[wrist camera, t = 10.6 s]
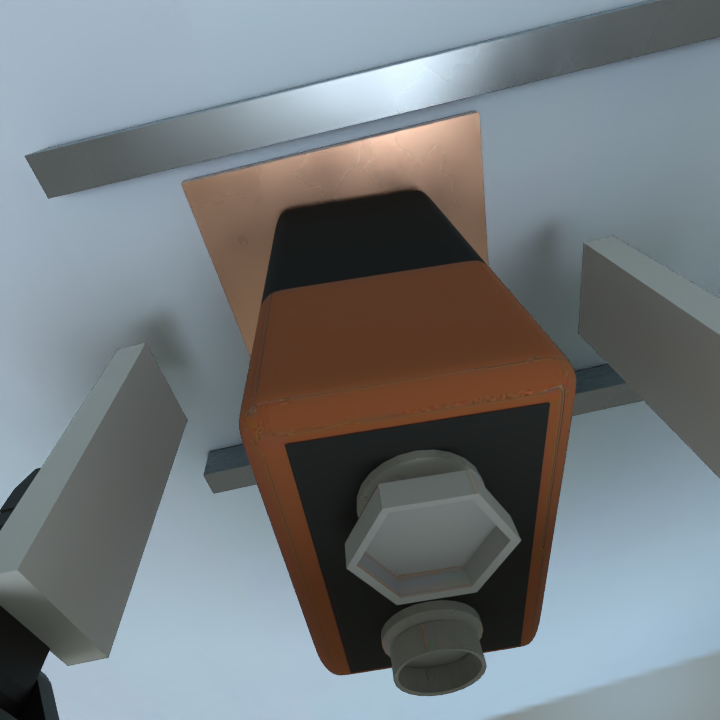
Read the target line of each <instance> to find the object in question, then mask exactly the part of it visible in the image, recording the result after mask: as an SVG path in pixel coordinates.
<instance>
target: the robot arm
mask: <svg viewBox="0 0 720 720" xmlns="http://www.w3.org/2000/svg"><path fill="white" fill-rule="evenodd" d="M578 333H579V334H580V335H581V336H582V338H583V339H584V340H585V341H586V342H587V343H588V344H589V345H590V346H591V347H592V348H593V349H594V350H595V351H596V352H597V353H598V354H599V355H600V356H601V357H602V358H603V359H604V360H605V361H606V362H607V363H608V364H609V365H610V366H611V367H612V368H613V369H614V370H615V371H616V372H617V373H618V374H619V376H620V377H621V378H622V379H623V380H624V381H625V382H626V383H627V384H628V385H629V386H630V387H631V388H632V389H633V390H634V391H635V392H636V393H637V394H638V395H639V396H640V397H641V398H642V399H643V400H644V401H645V402H646V403H647V404H648V405H649V406H650V407H651V408H652V409H653V410H654V411H655V413H656V414H657V415H658V416H659V417H660V418H661V419H662V420H663V421H664V422H665V423H666V424H667V425H668V426H669V427H670V428H671V429H672V430H673V431H674V432H675V433H676V434H677V435H678V436H679V437H680V438H681V439H682V440H683V441H684V442H685V443H686V444H687V445H688V446H689V447H690V448H691V449H692V451H693V452H694V453H695V454H696V455H697V456H698V457H699V458H700V459H701V460H702V461H703V462H704V463H705V464H706V465H707V466H708V467H709V468H710V469H711V470H712V471H713V472H714V473H715V474H716V475H717V476H718V477H719V478H720V299H719V298H718V297H716V296H714V295H713V294H711V293H709V292H708V291H706V290H704V289H703V288H701V287H699V286H697V285H696V284H694V283H692V282H691V281H689V280H687V279H686V278H684V277H682V276H681V275H679V274H677V273H675V272H674V271H672V270H670V269H669V268H667V267H665V266H664V265H662V264H660V263H658V262H657V261H655V260H653V259H652V258H650V257H648V256H647V255H645V254H643V253H642V252H640V251H638V250H636V249H635V248H633V247H631V246H630V245H628V244H626V243H625V242H623V241H621V240H619V239H618V238H616V237H614V236H610V237H605V238H601V239H597V240H592V241H588V242H583V259H582V276H581V293H580V310H579V327H578ZM186 423H187V418H186V416H185V414H184V413H183V411H182V409H181V407H180V405H179V403H178V401H177V400H176V398H175V396H174V394H173V392H172V390H171V388H170V387H169V385H168V383H167V381H166V379H165V377H164V375H163V374H162V372H161V370H160V368H159V366H158V364H157V362H156V360H155V359H154V357H153V355H152V353H151V351H150V349H149V347H148V346H147V344H146V343H142V344H138V345H133V346H129V347H125V348H120V349H118V350H117V352H116V353H115V355H114V356H113V358H112V359H111V361H110V362H109V364H108V366H107V367H106V369H105V370H104V372H103V373H102V375H101V376H100V378H99V379H98V381H97V383H96V384H95V386H94V387H93V389H92V390H91V392H90V393H89V395H88V396H87V398H86V399H85V401H84V403H83V404H82V406H81V407H80V409H79V410H78V412H77V413H76V415H75V416H74V418H73V420H72V421H71V423H70V424H69V426H68V427H67V429H66V430H65V432H64V433H63V435H62V436H61V438H60V440H59V441H58V443H57V444H56V446H55V447H54V449H53V450H52V452H51V453H50V455H49V457H48V458H47V460H46V461H45V463H44V464H43V466H42V467H41V468H38V469H35V470H34V471H33V472H32V473H31V474H30V475H29V476H28V477H27V478H26V479H24V480H23V481H22V482H21V483H20V484H19V485H18V486H17V487H16V488H15V489H14V490H13V492H12V493H11V495H10V496H9V498H8V499H7V501H6V502H5V503H4V505H3V506H2V508H1V509H0V720H59V716H58V712H57V707H56V703H55V699H54V694H53V690H52V685H51V683H50V681H49V679H48V678H47V676H46V675H45V674H44V673H43V672H41V668H42V666H43V664H44V661H45V659H46V657H47V655H48V652H49V650H50V651H51V652H52V653H53V654H54V655H56V656H57V657H58V658H59V659H60V660H61V661H63V662H64V663H65V664H66V665H67V666H70V665H75V664H80V663H85V662H90V661H94V660H99V659H104V658H108V657H109V654H110V651H111V648H112V645H113V642H114V639H115V636H116V633H117V630H118V627H119V624H120V621H121V618H122V615H123V612H124V609H125V606H126V603H127V600H128V597H129V594H130V591H131V588H132V585H133V582H134V579H135V576H136V573H137V570H138V567H139V564H140V561H141V558H142V555H143V552H144V549H145V546H146V543H147V540H148V537H149V534H150V531H151V528H152V525H153V522H154V519H155V516H156V513H157V510H158V507H159V504H160V501H161V498H162V495H163V492H164V489H165V486H166V483H167V480H168V477H169V474H170V471H171V468H172V465H173V462H174V459H175V456H176V453H177V450H178V447H179V444H180V441H181V438H182V435H183V432H184V429H185V426H186Z"/></svg>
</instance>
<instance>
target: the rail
mask: <svg viewBox="0 0 720 720" xmlns="http://www.w3.org/2000/svg"><path fill="white" fill-rule="evenodd" d="M716 37H720V0H648V1H644V2H640V3H636V4H632V5H628V6H624V7H620V8H616V9H612V10H608V11H603V12H599V13H595V14H591V15H587V16H583V17H579V18H575V19H571V20H567V21H563V22H559V23H554V24H550V25H546V26H542V27H538V28H534V29H530V30H526V31H522V32H518V33H514V34H510V35H506V36H501V37H497V38H493V39H489V40H485V41H481V42H477V43H473V44H469V45H465V46H461V47H457V48H453V49H448V50H444V51H440V52H436V53H432V54H428V55H424V56H420V57H416V58H412V59H408V60H404V61H400V62H395V63H391V64H387V65H383V66H379V67H375V68H371V69H367V70H363V71H359V72H355V73H351V74H347V75H342V76H338V77H334V78H330V79H326V80H322V81H318V82H314V83H310V84H306V85H302V86H298V87H294V88H289V89H285V90H281V91H277V92H273V93H269V94H265V95H261V96H257V97H253V98H249V99H245V100H241V101H236V102H232V103H228V104H224V105H220V106H216V107H212V108H208V109H204V110H200V111H196V112H192V113H187V114H183V115H179V116H175V117H171V118H167V119H163V120H159V121H155V122H151V123H147V124H143V125H139V126H134V127H130V128H126V129H122V130H118V131H114V132H110V133H106V134H102V135H98V136H94V137H90V138H86V139H81V140H77V141H73V142H69V143H65V144H61V145H57V146H53V147H49V148H46V149H43V150H40V151H37V152H34V153H32V154H29V155H26V156H25V158H26V160H27V161H28V163H29V165H30V167H31V168H32V170H33V172H34V174H35V176H36V177H37V179H38V181H39V183H40V185H41V186H42V188H43V190H44V192H45V193H46V195H47V197H48V199H49V198H53V197H57V196H61V195H65V194H70V193H74V192H78V191H82V190H86V189H90V188H94V187H99V186H103V185H107V184H111V183H115V182H119V181H123V180H128V179H132V178H136V177H140V176H144V175H148V174H152V173H157V172H161V171H165V170H169V169H173V168H177V167H181V166H186V165H190V164H194V163H198V162H202V161H206V160H210V159H215V158H219V157H223V156H227V155H231V154H235V153H239V152H244V151H248V150H252V149H256V148H260V147H264V146H268V145H273V144H277V143H281V142H285V141H289V140H293V139H297V138H302V137H306V136H310V135H314V134H318V133H322V132H326V131H331V130H335V129H339V128H343V127H347V126H351V125H355V124H360V123H364V122H368V121H372V120H376V119H380V118H384V117H389V116H393V115H397V114H401V113H405V112H409V111H413V110H418V109H422V108H426V107H430V106H434V105H438V104H442V103H447V102H451V101H455V100H459V99H463V98H467V97H471V96H476V95H480V94H484V93H488V92H492V91H496V90H500V89H505V88H509V87H513V86H517V85H521V84H525V83H529V82H534V81H538V80H542V79H546V78H550V77H554V76H558V75H563V74H567V73H571V72H575V71H579V70H583V69H587V68H592V67H596V66H600V65H604V64H608V63H612V62H616V61H621V60H625V59H629V58H633V57H637V56H641V55H645V54H650V53H654V52H658V51H662V50H666V49H670V48H674V47H679V46H683V45H687V44H691V43H695V42H699V41H703V40H708V39H712V38H716ZM181 184H182V187H183V189H184V192H185V194H186V197H187V199H188V202H189V204H190V207H191V209H192V212H193V214H194V217H195V219H196V222H197V224H198V227H199V229H200V232H201V234H202V237H203V239H204V242H205V244H206V247H207V249H208V252H209V254H210V257H211V259H212V262H213V264H214V267H215V269H216V272H217V274H218V277H219V279H220V282H221V284H222V287H223V289H224V292H225V294H226V297H227V299H228V302H229V304H230V307H231V309H232V312H233V314H234V317H235V319H236V322H237V324H238V327H239V329H240V332H241V334H242V337H243V339H244V342H245V344H246V347H247V349H248V352H249V354H250V357H251V353H252V348H253V343H254V338H255V333H256V327H257V322H258V317H259V312H260V306H261V301H262V296H263V291H264V285H265V280H266V275H267V270H268V265H269V259H270V254H271V249H272V244H273V238H274V233H275V228H276V224H277V221H278V219H279V217H280V215H281V214H282V213H283V212H284V211H286V210H290V209H295V208H301V207H308V206H314V205H321V204H327V203H334V202H340V201H347V200H354V199H360V198H367V197H373V196H380V195H386V194H393V193H399V192H406V191H413V190H420V191H422V192H424V193H425V194H427V195H428V196H429V197H430V199H431V200H432V201H433V202H434V203H435V204H436V206H437V207H438V208H439V209H440V210H441V211H442V213H443V214H444V215H445V216H446V217H447V218H448V220H449V221H450V222H451V223H452V224H453V225H454V227H455V228H456V229H457V230H458V231H459V232H460V234H461V235H462V236H463V237H464V238H465V239H466V241H467V242H468V243H469V244H470V245H471V246H472V248H473V249H474V250H475V251H476V252H477V253H478V255H479V256H480V257H481V258H482V259H483V260H484V262H485V263H486V264H487V265H488V251H487V234H486V217H485V199H484V182H483V165H482V148H481V130H480V113H479V112H477V111H471V112H467V113H463V114H459V115H455V116H451V117H446V118H442V119H438V120H434V121H430V122H426V123H421V124H417V125H413V126H409V127H405V128H401V129H396V130H392V131H388V132H384V133H380V134H376V135H371V136H367V137H363V138H359V139H355V140H351V141H346V142H342V143H338V144H334V145H330V146H326V147H322V148H317V149H313V150H309V151H305V152H301V153H297V154H292V155H288V156H284V157H280V158H276V159H272V160H267V161H263V162H259V163H255V164H251V165H247V166H242V167H238V168H234V169H230V170H226V171H222V172H217V173H213V174H209V175H205V176H201V177H197V178H192V179H188V180H184V181H183V182H182V183H181ZM575 375H576V390H575V399H574V406H573V413H572V416H574V415H579V414H584V413H588V412H593V411H597V410H602V409H607V408H611V407H616V406H620V405H625V404H630V403H634V402H639V401H644V400H643V399H642V398H641V397H640V396H639V395H638V394H637V393H636V392H635V391H634V390H633V389H632V388H631V387H630V386H629V385H628V384H627V383H626V382H625V381H624V380H623V379H622V378H621V377H620V376H619V374H618V373H617V372H616V371H615V370H614V369H613V368H612V367H611V366H610V365H609V364H608V365H603V366H599V367H594V368H589V369H585V370H580V371H576V372H575ZM204 477H205V479H206V481H207V483H208V484H209V486H210V488H211V490H212V492H213V493H219V492H223V491H228V490H232V489H237V488H242V487H246V486H251V485H255V484H257V482H256V480H255V477H254V474H253V471H252V468H251V465H250V463H249V460H248V457H247V454H246V451H245V448H244V445H239V446H234V447H230V448H225V449H221V450H216V451H212V452H209V455H208V459H207V463H206V467H205V471H204Z"/></svg>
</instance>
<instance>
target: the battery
mask: <svg viewBox="0 0 720 720" xmlns="http://www.w3.org/2000/svg"><path fill="white" fill-rule="evenodd" d="M575 390H576V375H575V371H574V369H573V367H572V365H571V363H570V362H569V360H568V359H567V358H566V357H565V355H564V354H563V353H562V352H561V351H560V349H559V348H558V347H557V346H556V345H555V343H554V342H553V341H552V340H551V339H550V338H549V336H548V335H547V334H546V333H545V332H544V331H543V329H542V328H541V327H540V326H539V325H538V324H537V322H536V321H535V320H534V319H533V318H532V317H531V315H530V314H529V313H528V312H527V311H526V310H525V308H524V307H523V306H522V305H521V304H520V303H519V301H518V300H517V299H516V298H515V297H514V296H513V294H512V293H511V292H510V291H509V290H508V289H507V287H506V286H505V285H504V284H503V283H502V282H501V280H500V279H499V278H498V277H497V276H496V274H495V273H494V272H493V271H492V270H491V269H490V267H489V266H488V265H487V264H486V263H485V262H484V260H483V259H482V258H481V257H480V256H479V255H478V253H477V252H476V251H475V250H474V249H473V248H472V246H471V245H470V244H469V243H468V242H467V241H466V239H465V238H464V237H463V236H462V235H461V234H460V232H459V231H458V230H457V229H456V228H455V227H454V225H453V224H452V223H451V222H450V221H449V220H448V218H447V217H446V216H445V215H444V214H443V213H442V211H441V210H440V209H439V208H438V207H437V206H436V204H435V203H434V202H433V201H432V200H431V199H430V197H429V196H428V195H427V194H425V193H424V192H422V191H420V190H413V191H406V192H399V193H393V194H386V195H380V196H373V197H367V198H360V199H354V200H347V201H340V202H334V203H327V204H321V205H314V206H308V207H301V208H295V209H290V210H286V211H284V212H283V213H282V214H281V215H280V217H279V219H278V221H277V224H276V228H275V233H274V238H273V244H272V249H271V254H270V259H269V265H268V270H267V275H266V280H265V285H264V291H263V296H262V301H261V306H260V312H259V317H258V322H257V327H256V333H255V338H254V343H253V348H252V353H251V359H250V364H249V369H248V374H247V380H246V385H245V390H244V395H243V400H242V406H241V412H240V418H239V429H240V434H241V438H242V442H243V445H244V448H245V451H246V454H247V457H248V460H249V463H250V465H251V468H252V471H253V474H254V477H255V480H256V482H257V485H258V488H259V491H260V494H261V496H262V499H263V502H264V505H265V508H266V511H267V513H268V516H269V519H270V522H271V525H272V527H273V530H274V533H275V536H276V539H277V542H278V544H279V547H280V550H281V553H282V556H283V558H284V561H285V564H286V567H287V570H288V572H289V575H290V578H291V581H292V584H293V587H294V589H295V592H296V595H297V598H298V601H299V603H300V606H301V609H302V612H303V615H304V618H305V620H306V623H307V626H308V629H309V632H310V634H311V637H312V640H313V643H314V646H315V648H316V651H317V653H318V656H319V658H320V660H321V661H322V663H323V664H324V666H325V667H326V668H327V669H328V670H329V671H330V672H332V673H333V674H336V675H349V674H355V673H362V672H368V671H374V670H381V669H387V668H392V670H393V677H394V682H395V684H396V686H397V687H398V688H399V689H400V690H402V691H404V692H406V693H409V694H412V695H418V696H436V695H443V694H448V693H452V692H455V691H458V690H461V689H464V688H466V687H468V686H470V685H472V684H473V683H475V682H476V681H477V680H478V679H480V678H481V676H482V675H483V674H484V673H485V670H486V662H485V658H484V655H483V653H486V652H492V651H498V650H504V649H510V648H516V647H521V646H525V645H527V644H529V643H530V642H531V641H532V640H533V638H534V637H535V635H536V632H537V629H538V626H539V621H540V616H541V610H542V604H543V597H544V591H545V585H546V578H547V572H548V565H549V559H550V553H551V546H552V540H553V534H554V527H555V521H556V515H557V508H558V502H559V496H560V489H561V483H562V477H563V470H564V464H565V457H566V451H567V445H568V438H569V432H570V426H571V419H572V413H573V406H574V399H575Z"/></svg>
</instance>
